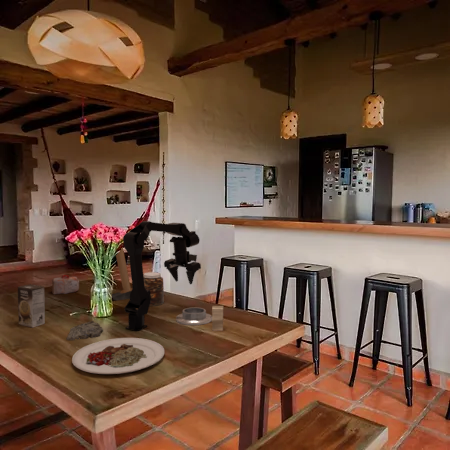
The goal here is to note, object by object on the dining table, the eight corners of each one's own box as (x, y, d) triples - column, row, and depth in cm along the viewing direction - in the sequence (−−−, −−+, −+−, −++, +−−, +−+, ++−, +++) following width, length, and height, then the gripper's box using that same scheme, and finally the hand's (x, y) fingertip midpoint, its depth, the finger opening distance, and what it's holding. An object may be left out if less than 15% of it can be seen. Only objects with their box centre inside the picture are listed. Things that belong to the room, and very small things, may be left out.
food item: (76, 289, 234) (76, 272, 233) (79, 292, 227) (79, 275, 226) (51, 292, 227) (51, 274, 226) (53, 295, 220) (53, 277, 220)
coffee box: (17, 324, 171) (16, 286, 170) (31, 320, 177) (30, 283, 175) (32, 327, 167) (31, 289, 166) (45, 323, 172) (44, 286, 171)
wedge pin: (222, 330, 165) (223, 308, 165) (212, 330, 165) (212, 308, 165) (223, 327, 170) (223, 305, 169) (212, 327, 170) (212, 305, 169)
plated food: (182, 357, 138) (182, 348, 138) (104, 388, 116) (104, 377, 116) (130, 336, 158) (130, 328, 158) (55, 359, 136) (55, 349, 136)
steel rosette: (200, 327, 169) (200, 318, 168) (168, 321, 176) (168, 312, 176) (218, 317, 183) (218, 308, 183) (188, 312, 190) (188, 303, 190)
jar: (166, 300, 211) (166, 272, 210) (160, 306, 200) (160, 276, 199) (144, 299, 212) (143, 271, 211) (137, 305, 201) (136, 275, 200)
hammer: (111, 305, 209) (99, 250, 204) (108, 303, 214) (97, 248, 208) (147, 293, 219) (136, 240, 214) (143, 291, 223) (133, 239, 218)
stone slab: (105, 326, 172) (104, 319, 171) (99, 340, 155) (99, 332, 155) (73, 328, 169) (73, 320, 169) (64, 342, 152) (64, 334, 152)
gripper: (207, 247, 185) (210, 280, 188) (178, 244, 197) (181, 275, 200) (190, 253, 177) (194, 287, 180) (161, 249, 189) (165, 281, 192)
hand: (183, 282), depth 188 cm, fingers open, 9 cm apart
